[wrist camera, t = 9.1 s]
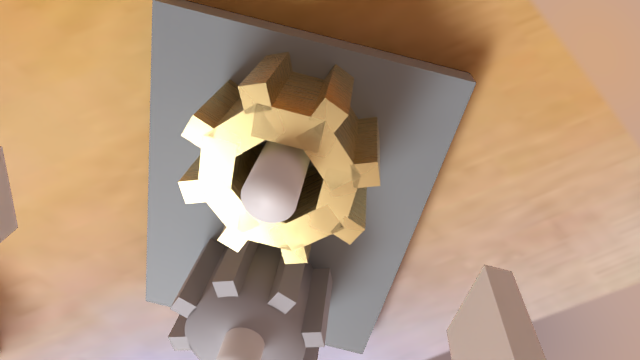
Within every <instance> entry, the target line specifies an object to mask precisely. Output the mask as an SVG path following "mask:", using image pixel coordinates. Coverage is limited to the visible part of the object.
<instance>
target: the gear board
mask: <svg viewBox="0 0 640 360" xmlns="http://www.w3.org/2000/svg"><path fill="white" fill-rule="evenodd" d="M284 52H289V55H290V60H291V65H292V70H293V72H296V73H300V74H304V75H308V76H312V77H316V78H319V79H323V80H324V79H325V78H326V76H327V75H328V74H329V72H330V71H331V69H332V68H333V67H334V65H335V64H336V65H338V66H339V67H340V68H342V69H343V70H344V71H346V72H347V73H348V74H350V75H351V76H352V77H354V82H353V89H352V96H351V102H350V107H351V108H352V110H353V111H354V113H355V115H356V116H357V118H358V119H363V118H371V117H377V120H378V129H379V140H380V186H374V187H367V194H366V223H365V230H364V231H363V232H362V233H361V234H360V235H359V236H358V237H357V238H356V239H355V240H354V241H353V242H352V243H351V244H350V245H349V244H348V243H346V242H345V241H343V240H342V239H340V238H339V237H337V236H336V235H334V234H331V235H329V236H327V237H324V238H322V239H320V240H318V241H315V242H313V243H312V244H311V249H310V254H309V259H308V263H296V264H285V263H284V259H283V256H282V252H281V248H278V247H274V246H270V245H266V244H262V243H258V242H254V241H250V240H247V241H246V243H245V244H244V245H243V246H242V248H241V249H240V250H239V251H238V252H236V251H235V250H233V249H231V248H230V247H228V246H226V245H225V244H223V243H221V242H220V241H218V238H219V236H220V234H221V232H222V230H223V229H224V227H225V224H224V223H223V222H222V220H221V219H220V218H219V217H218V216H217V214H216V213H215V212H214V211H213V210H212V209H211V207H210V206H209V205H208V204H207V203H206V202H198V203H186V202H185V200H184V197H183V194H182V192H181V189H180V186H179V184H178V181H179V180H180V179H181V178H182V176H183V175H184V174H185V173H186V171H187V170H188V169H189V168H190V166H191V165H192V164H193V163H194V162H195V160H196V159H197V158H198V157H199V155H200V154H201V148H200V147H198V146H197V145H195V144H194V143H192V142H191V141H189V140H188V139H186V138H184V137H183V136H181V135H182V133H183V131H184V129H185V128H186V126H187V124H188V123H189V121H190V119H191V117H192V116H193V114H194V113H196V112H197V111H198V110H199V109H200V108H201V107H202V106H203V105H204V104H205V103H206V102H207V101H208V100H209V99H210V98H211V97H212V96H213V95H214V94H215V93H216V92H217V91H218V90H219V89H220V88H221V87H222V86H223V85H224V84H225V83H226V82H227V81H228V80H229V79H230V80H232V81H233V82H235V83H236V84H238V85H240V83H241V82H242V81H243V80H244V79H245V78H246V77H247V76H248V75H249V74H250V73H251V72H252V70H253V69H254V68H255V67H256V66H257V65H258V64H259V63H260V62H261V61H262V60H263V58H264V57H265V56H266V55H271V54H278V53H284ZM475 85H476V82H475V80H474V79H473V77H472V76H471V74H470V73H467V72H464V71H460V70H456V69H452V68H448V67H444V66H440V65H436V64H432V63H428V62H425V61H421V60H417V59H413V58H409V57H405V56H401V55H397V54H393V53H389V52H385V51H382V50H378V49H374V48H370V47H366V46H362V45H358V44H354V43H350V42H346V41H342V40H339V39H335V38H331V37H327V36H323V35H319V34H315V33H311V32H307V31H303V30H299V29H296V28H292V27H288V26H284V25H280V24H276V23H272V22H268V21H264V20H260V19H257V18H253V17H249V16H245V15H241V14H237V13H233V12H229V11H225V10H221V9H217V8H214V7H210V6H206V5H202V4H198V3H194V2H190V1H186V0H153V7H152V51H151V96H150V140H149V184H148V228H147V273H146V301H148V302H152V303H156V304H160V305H164V306H168V307H170V309H171V310H173V311H175V312H177V313H178V314H180V315H179V317H178V319H177V321H176V323H175V325H174V327H173V328H172V330H171V332H170V334H169V336H168V338H169V340H170V342H171V345H172V347H173V349H174V351H189V350H192V351H193V353H194V354H195V355H196V356H197V357H198V359H199V360H317V358H318V350H319V347H325V345H327V346H331V347H335V348H339V349H343V350H347V351H351V352H355V353H359V354H363V352H364V349H365V347H366V345H367V342H368V340H369V338H370V335H371V333H372V330H373V328H374V326H375V323H376V321H377V318H378V316H379V314H380V311H381V309H382V307H383V304H384V302H385V299H386V297H387V295H388V292H389V290H390V287H391V285H392V283H393V280H394V278H395V275H396V273H397V271H398V268H399V266H400V264H401V261H402V259H403V256H404V254H405V252H406V249H407V247H408V244H409V242H410V240H411V237H412V235H413V233H414V230H415V228H416V225H417V223H418V221H419V218H420V216H421V213H422V211H423V209H424V206H425V204H426V202H427V199H428V197H429V194H430V192H431V190H432V187H433V185H434V182H435V180H436V178H437V175H438V173H439V171H440V168H441V166H442V163H443V161H444V159H445V156H446V154H447V151H448V149H449V147H450V144H451V142H452V139H453V137H454V135H455V132H456V130H457V128H458V125H459V123H460V120H461V118H462V116H463V113H464V111H465V108H466V106H467V104H468V101H469V99H470V97H471V94H472V92H473V89H474V87H475ZM260 144H261V146H262V147H263V149H262V151H261V153H260V155H259V157H258V159H257V161H256V162H255V164H254V166H253V168H252V170H251V172H250V174H249V176H248V178H247V179H246V181H245V183H244V185H243V187H242V189H241V202H242V205H243V207H244V208H245V210H246V211H247V212H248V213H249V214H250V215H251V216H252V217H254V218H255V219H257V220H259V221H262V222H266V223H279V222H282V221H285V220H287V219H288V218H289V217H291V216H292V215H293V213H294V212H295V210H296V207H297V203H298V200H299V196H300V193H301V189H302V186H303V183H304V179H305V176H306V172H307V169H308V168H309V167H311V166H313V163H312V162H311V160H310V159H309V157H308V156H307V154H306V153H305V151H304V150H303V149H299V148H295V147H291V146H287V145H283V144H279V143H275V142H271V141H268V140H264V141H263V142H261V143H260Z"/></svg>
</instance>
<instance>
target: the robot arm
mask: <svg viewBox="0 0 640 360" xmlns="http://www.w3.org/2000/svg"><path fill="white" fill-rule="evenodd" d="M17 228H18V225H17V220H16V214H15V209H14V204H13V199H12V194H11V189H10V184H9V179H8V174H7V169H6V164H5V159H4V154H3V148H2V147H1V146H0V243H1V242H2V241H3V240H4V239H5V238H6V237H8V236H9V235H10V234H11V233H12V232H13V231H15V230H16V229H17ZM447 336H448V342H449V348H450V353H451V358H452V360H546V358H545V355H544V353H543V350H542V348H541V345H540V342H539V340H538V337H537V335H536V332H535V330H534V327H533V324H532V322H531V319H530V317H529V314H528V312H527V309H526V306H525V304H524V301H523V299H522V296H521V294H520V291H519V289H518V286H517V283H516V281H515V278H514V276H513V273H512V271H508V270H504V269H500V268H496V267H492V266H488V265H484V266H483V268H482V270H481V271H480V273H479V275H478V277H477V278H476V280H475V282H474V284H473V285H472V287H471V289H470V291H469V292H468V294H467V296H466V298H465V299H464V301H463V303H462V305H461V306H460V308H459V310H458V312H457V313H456V315H455V317H454V319H453V320H452V322H451V324H450V326H449V327H448V329H447Z"/></svg>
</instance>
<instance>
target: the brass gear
mask: <svg viewBox="0 0 640 360" xmlns="http://www.w3.org/2000/svg"><path fill="white" fill-rule="evenodd" d="M353 82H354V77H352V76H351V75H350V74H348V73H347V72H346V71H344V70H343V69H342V68H340V67H339V66H338V65H336V64H335V65H334V67H333V68H332V69H331V71H330V72H329V74H328V75H327V76H326V78H325V79H324V80H323V79H319V78H316V77H312V76H308V75H304V74H300V73H296V72H293V70H292V65H291V60H290V55H289V52H284V53H278V54H271V55H266V56H265V57H264V58H263V60H262V61H261V62H260V63H259V64H258V65H257V66H256V67H255V68H254V69H253V70H252V72H251V73H250V74H249V75H248V76H247V77H246V78H245V79H244V80H243V81H242V82H241V83H240V85H238V84H236V83H235V82H233V81H232V80H230V79H229V80H228V81H227V82H226V83H225V84H224V85H223V86H222V87H221V88H220V89H219V90H218V91H217V92H216V93H215V94H214V95H213V96H212V97H211V98H210V99H209V100H208V101H207V102H206V103H205V104H204V105H203V106H202V107H201V108H200V109H199V110H198V111H197V112H196V113H194V114H193V116H192V117H191V119H190V121H189V123H188V124H187V126H186V128H185V129H184V131H183V133H182V135H181V136H183V137H184V138H186V139H188V140H189V141H191V142H192V143H194V144H195V145H197V146H198V147H200V148H201V154H200V155H199V157H198V158H197V159H196V160H195V162H194V163H193V164H192V165H191V166H190V168H189V169H188V170H187V171H186V173H185V174H184V175H183V176H182V178H181V179H180V180H179V181H178V184H179V186H180V189H181V192H182V194H183V197H184V200H185V202H186V203H198V202H206V203H207V204H208V205H209V206H210V207H211V209H212V210H213V211H214V212H215V213H216V214H217V216H218V217H219V218H220V219H221V220H222V222H223V223H224V224H225V227H224V229H223V230H222V232H221V234H220V236H219V238H218V241H220V242H221V243H223V244H225V245H226V246H228V247H230V248H231V249H233V250H235V251H236V252H238V251H239V250H240V249H241V248H242V246H243V245H244V244H245V243H246V241H247V240H250V241H254V242H258V243H262V244H266V245H270V246H274V247H278V248H281V252H282V256H283V259H284V263H285V264H296V263H308V259H309V254H310V249H311V244H312V243H313V242H315V241H318V240H320V239H322V238H324V237H327V236H329V235H331V234H334V235H336V236H337V237H339V238H340V239H342V240H343V241H345V242H346V243H348V244H349V245H350V244H351V243H352V242H353V241H354V240H355V239H356V238H357V237H358V236H359V235H360V234H361V233H362V232H363V231H364V230H365V223H366V194H367V187H374V186H380V140H379V129H378V120H377V117H371V118H363V119H358V118H357V116H356V115H355V113H354V111H353V110H352V108H351V107H350V102H351V96H352V89H353ZM264 140H268V141H271V142H275V143H279V144H283V145H287V146H291V147H295V148H299V149H303V150H304V151H305V153H306V154H307V156H308V157H309V159H310V160H311V162H312V163H313V166H311V167H309V168H308V169H307V172H306V176H305V179H304V183H303V186H302V189H301V193H300V196H299V200H298V203H297V207H296V210H295V212H294V213H293V215H292V216H291V217H289V218H288V219H287V220H285V221H282V222H279V223H266V222H262V221H259V220H257V219H255V218H254V217H252V216H251V215H250V214H249V213H248V212H247V211H246V210H245V208H244V207H243V205H242V202H241V189H242V187H243V185H244V183H245V181H246V179H247V178H248V176H249V174H250V172H251V170H252V168H253V166H254V164H255V162H256V161H257V159H258V157H259V155H260V153H261V151H262V149H263V147H262V146H261V144H260V143H261V142H263V141H264Z"/></svg>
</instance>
